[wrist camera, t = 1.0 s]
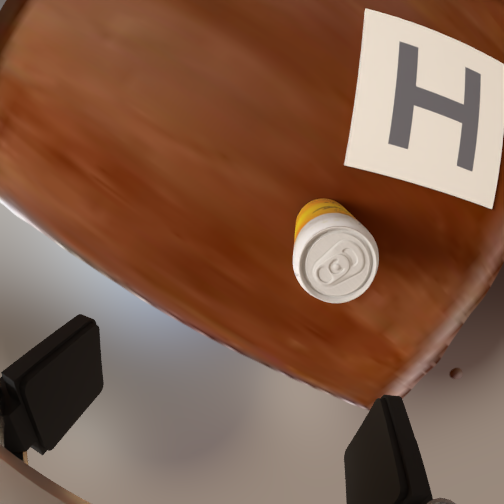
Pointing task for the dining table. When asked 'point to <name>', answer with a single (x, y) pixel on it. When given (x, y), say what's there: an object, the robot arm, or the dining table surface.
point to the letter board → (427, 110)
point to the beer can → (333, 252)
